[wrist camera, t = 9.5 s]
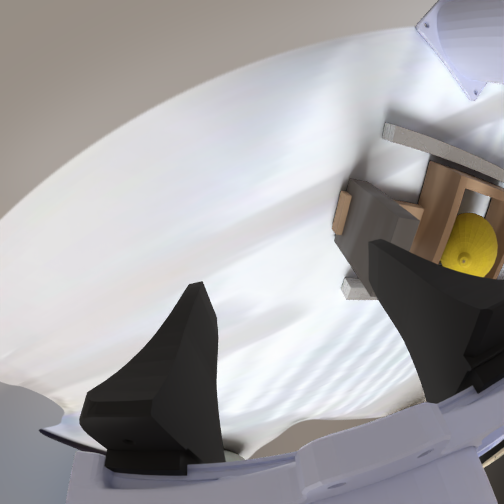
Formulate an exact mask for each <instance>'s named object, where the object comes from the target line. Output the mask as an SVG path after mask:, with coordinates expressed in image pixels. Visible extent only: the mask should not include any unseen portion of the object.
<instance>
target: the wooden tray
mask: <svg viewBox="0 0 504 504" xmlns="http://www.w3.org/2000/svg"><path fill="white" fill-rule="evenodd" d="M465 188H466V189H469V190H472V191H475V192H478V193H481V194H484V195H486V196H489V197H492V199H491V203H490V206H489V209H488V212H487V215H486V218H485V219H486V220H487V221H488V222H489V223H490V225H491V226H492V227H493V230H494V232H495V234H496V238H497V244H498V248H497V256H496V259H495V263H494V265H493V266H492V268H491V270H490V271H489V272H488V273H487V274H486V275H485V276H484V278H490V279H497V277H498V275H499V273H500V270H501V268H502V266H503V264H504V189H503V188H502V187H500V186H497V185H495V184H493V183H490V182H488V181H485V180H483V179H480V178H478V177H475V176H473V175H470V174H468V173H465V172H462V171H459V170H457V169H454V168H451V167H448V166H445V165H442V164H439V163H436V162H433V161H429V165H428V169H427V173H426V177H425V181H424V184H423V188H422V192H421V195H420V199H419V202H418V204H414V203H409V202H404V201H398V200H393V199H391V198H390V197H388V196H387V195H386V194H384V193H383V192H381V191H380V190H379V189H377V188H376V187H374V186H373V185H372V184H370V183H369V182H367V181H361V180H356V179H349V183H348V187H347V192H346V191H341V193H340V197H339V201H338V205H337V210H336V214H335V218H334V222H333V226H332V230H333V231H334V232H335V234H336V236H335V240H334V242H335V243H336V244H337V246H338V247H339V249H340V250H341V252H342V253H343V255H344V256H345V258H346V259H347V261H348V262H349V264H350V265H351V267H352V269H353V270H354V272H355V273H356V275H357V276H358V278H359V279H360V281H361V282H362V284H363V286H364V287H365V289H366V290H367V292H368V294H369V295H370V297H376V295H375V293H374V291H373V289H372V286H371V284H370V282H369V253H368V242H369V241H373V240H377V239H383V240H386V241H388V242H390V243H392V244H394V245H396V246H399V247H401V248H403V249H405V250H407V251H409V252H411V253H413V254H415V255H417V256H419V257H422V258H424V259H426V260H429V261H431V262H433V263H436V264H439V261H440V259H441V257H442V254H443V252H444V249H445V247H446V244H447V241H448V239H449V236H450V233H451V231H452V228H453V225H454V222H455V219H456V216H457V213H458V210H459V207H460V204H461V201H462V198H463V194H464V191H465Z"/></svg>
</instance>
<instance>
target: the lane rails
mask: <svg viewBox="0 0 504 504" xmlns="http://www.w3.org/2000/svg"><path fill="white" fill-rule="evenodd" d="M382 138H383V139H386V140H388V141H391V142H394V143H398V144H401V145H405V146H408V147H411V148H414V149H418V150H421V151H424V152H427V153H430V154H433V155H436V156H439V157H442V158H444V159H447V160H450V161H453V162H455V163H458V164H461V165H463V166H466V167H468V168H471V169H473V170H476V171H478V172H481V173H483V174H485V175H488V176H490V177H492V178H495V179H497V180H499V181H501V182H503V183H504V169H502V168H500V167H498V166H496V165H494V164H492V163H490V162H488V161H486V160H484V159H482V158H480V157H477V156H475V155H473V154H471V153H468V152H466V151H464V150H461V149H459V148H457V147H454V146H452V145H449V144H447V143H444V142H442V141H439V140H437V139H434V138H431V137H429V136H426V135H423V134H420V133H417V132H414V131H411V130H408V129H405V128H402V127H399V126H396V125H392V124H388V123H385V126H384V132H383V137H382ZM341 290H342V292H343V294H344V296H345V298H346V300H378V299H377V297H370V295H369V294H368V292H367V290H366V289H365V287H364V286H363V284H362V282H361V281H360V279H359V278H345V279H344V282H343V285H342V288H341Z"/></svg>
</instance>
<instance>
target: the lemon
mask: <svg viewBox="0 0 504 504" xmlns="http://www.w3.org/2000/svg"><path fill="white" fill-rule="evenodd" d="M497 248H498V244H497V238H496V234H495V232H494V230H493V227H492V226H491V225H490V223H489V222H488V221H487V220H486V219H484V218H483V217H482V216H480V215H477V214H475V213H462V214H459V215H457V216H456V219H455V222H454V225H453V228H452V231H451V233H450V236H449V239H448V241H447V244H446V247H445V249H444V252H443V254H442V257H441V259H440V261H441V264H442V266H444V267H446V268H449V269H452V270H455V271H459V272H462V273H466V274H470V275H474V276H479V277H484V276H485V275H486V274H487V273H488V272H489V271H490V270H491V268H492V266H493V265H494V263H495V259H496V256H497Z"/></svg>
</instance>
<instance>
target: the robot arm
mask: <svg viewBox="0 0 504 504" xmlns="http://www.w3.org/2000/svg"><path fill="white" fill-rule="evenodd" d="M424 23H425V24H426V26H427V27H425V25H424ZM416 28H417V31H418V32H419V33H420V34H421V35H422V37H423V38H424V39H425V40H426V41H427V42H428V44H429V45H430V46H431V47H432V49H433V50H434V51H435V52H436V54H437V55H438V56H439V57H440V59H441V60H442V61H443V63H444V64H445V65H446V67H447V68H448V69H449V71H450V72H451V74H452V75H453V76H454V78H455V79H456V81H457V82H458V84H459V85H460V87H461V88H462V90H463V91H464V93H465V94H466V96H467V97H468V99H469V100H471V101H475V100H476V99H477V97H478V96H479V94H480V93H481V92H482V90H483V88H484V87H485V85H486V84H487V82H492V83H499V84H504V0H438V1H437V3H435V5H434V6H433V7H432V8H431V9H430V10H429V11H428V12H427V13H426V14H425V16H424V17H423V18H422V19H421V20H420V21H419V22H418V23H417V25H416ZM474 91H475V93H474ZM368 253H369V282H370V284H371V286H372V289H373V291H374V293H375V295H376V297H377V299H378V300H379V302H380V303H381V305H382V306H383V308H384V310H385V311H386V313H387V314H388V316H389V317H390V319H391V320H392V322H393V323H394V325H395V327H396V328H397V330H398V331H399V333H400V335H401V337H402V338H403V340H404V342H405V344H406V346H407V349H408V351H409V353H410V355H411V358H412V360H413V363H414V365H415V368H416V370H417V373H418V376H419V378H420V381H421V384H422V387H423V390H424V393H425V397H426V400H427V402H424V403H421V404H417V405H414V406H411V407H409V408H406V409H404V410H401V411H399V412H396V413H394V414H391V415H388V416H386V417H383V418H380V419H377V420H374V421H371V422H369V423H366V424H363V425H359V426H356V427H353V428H350V429H346V430H343V431H340V432H336V433H332V434H329V435H327V436H324V437H321V438H318V439H315V440H313V441H311V442H309V443H308V444H306V445H304V446H303V447H301V448H300V449H299V450H298V451H296V452H291V453H286V454H281V455H275V456H269V457H263V458H257V459H249V460H241V461H232V462H226V460H225V454H224V449H223V442H222V435H221V428H220V420H219V411H218V400H217V384H216V379H217V357H218V327H217V317H216V314H215V312H214V309H213V307H212V304H211V302H210V299H209V297H208V294H207V291H206V289H205V286H204V284H203V281H202V282H197V283H193V284H189V285H188V287H187V288H186V290H185V291H184V293H183V294H182V296H181V298H180V299H179V301H178V302H177V304H176V305H175V307H174V309H173V310H172V312H171V313H170V315H169V316H168V317H167V319H166V320H165V322H164V323H163V324H162V326H161V327H160V329H159V330H158V331H157V332H156V334H155V335H154V336H153V337H152V339H151V340H150V341H149V342H148V343H147V344H146V345H145V347H144V348H143V349H142V350H141V351H140V352H139V353H138V354H137V355H136V356H134V357H133V358H132V359H131V360H130V361H129V362H128V363H127V364H126V365H125V366H124V367H122V368H121V369H120V370H119V371H118V372H116V373H115V374H114V375H112V376H111V377H110V378H108V379H107V380H106V381H104V382H103V383H101V384H100V385H98V386H96V387H95V388H93V389H92V390H90V391H89V392H87V395H86V398H85V402H84V405H83V408H82V412H81V415H80V419H79V422H80V425H81V427H82V428H83V430H84V431H85V432H86V433H87V434H88V435H89V436H91V437H92V438H93V439H95V440H96V441H97V442H98V443H100V444H101V445H102V446H104V447H105V448H106V449H107V454H106V456H105V455H102V454H98V453H91V452H83V451H76V452H75V457H74V461H73V466H72V471H71V476H70V481H69V487H68V493H67V499H66V504H498V503H497V500H496V498H495V495H494V493H493V490H492V487H491V485H490V483H489V480H488V478H487V475H486V473H485V471H484V468H483V466H482V464H481V461H480V459H479V457H480V456H481V455H483V454H484V453H486V452H487V451H489V450H490V449H491V448H493V447H494V446H496V445H497V444H498V443H500V442H501V441H502V440H504V280H497V279H490V278H484V277H479V276H474V275H470V274H466V273H462V272H459V271H455V270H452V269H449V268H446V267H444V266H441V265H438V264H436V263H433V262H431V261H429V260H426V259H424V258H422V257H419V256H417V255H415V254H413V253H411V252H409V251H407V250H405V249H403V248H401V247H399V246H396V245H394V244H392V243H390V242H388V241H386V240H383V239H377V240H373V241H369V242H368Z"/></svg>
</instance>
